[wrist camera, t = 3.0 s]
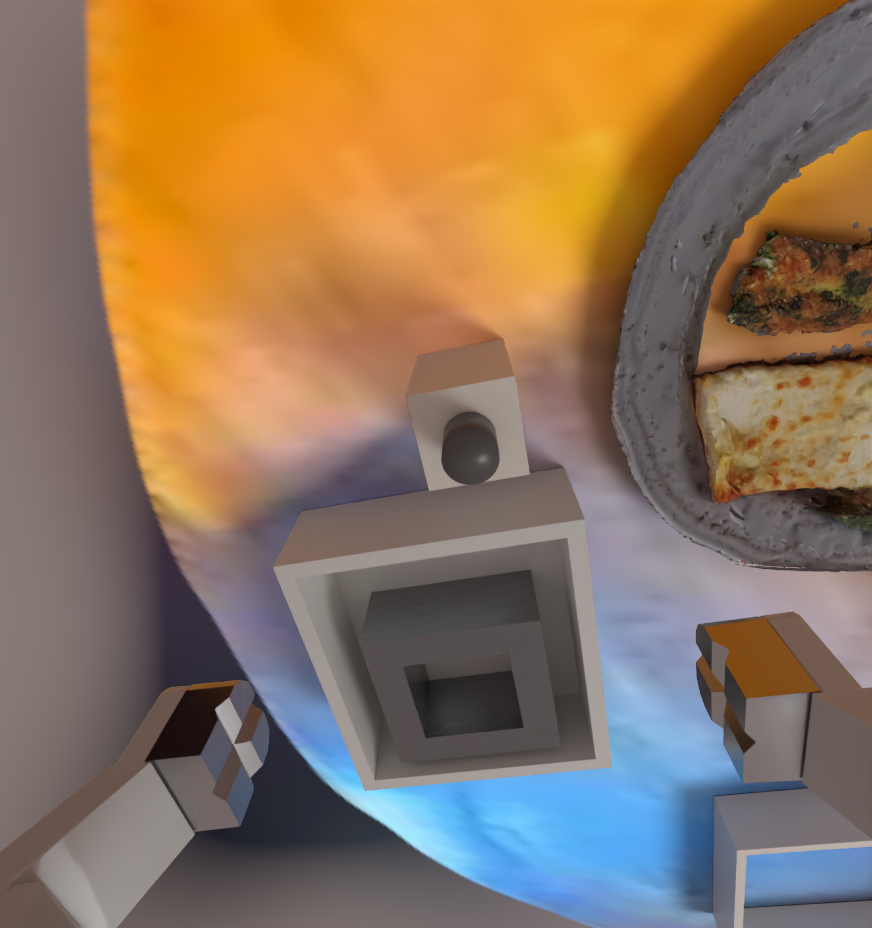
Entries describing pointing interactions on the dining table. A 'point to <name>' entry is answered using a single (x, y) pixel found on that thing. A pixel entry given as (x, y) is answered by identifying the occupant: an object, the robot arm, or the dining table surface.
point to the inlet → (468, 697)
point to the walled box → (439, 560)
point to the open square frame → (778, 831)
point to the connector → (467, 416)
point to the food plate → (758, 329)
